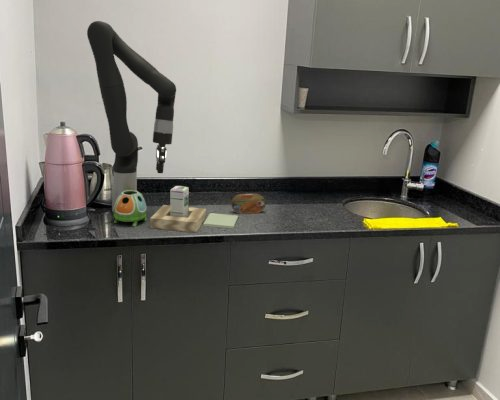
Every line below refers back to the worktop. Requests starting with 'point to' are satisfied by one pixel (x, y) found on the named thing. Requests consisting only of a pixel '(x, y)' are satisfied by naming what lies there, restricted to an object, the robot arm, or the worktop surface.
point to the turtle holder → (130, 207)
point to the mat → (221, 220)
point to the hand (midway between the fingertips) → (159, 171)
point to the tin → (248, 203)
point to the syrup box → (179, 201)
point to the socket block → (178, 219)
